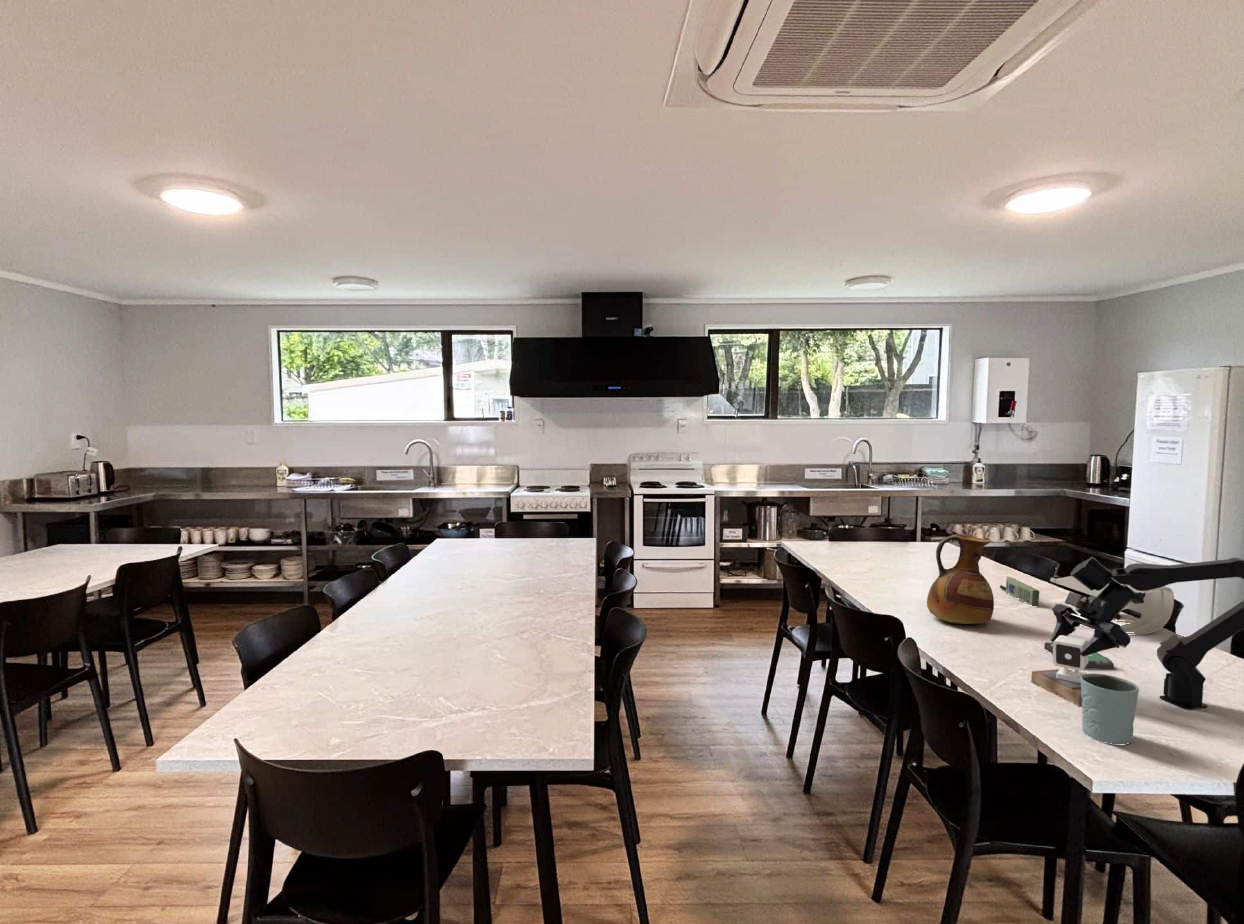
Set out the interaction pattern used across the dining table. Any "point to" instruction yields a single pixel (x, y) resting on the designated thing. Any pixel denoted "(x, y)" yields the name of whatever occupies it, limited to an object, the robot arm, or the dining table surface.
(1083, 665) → the security camera
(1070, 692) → the walnut stand
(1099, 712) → the green plant pot
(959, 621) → the ceramic pitcher
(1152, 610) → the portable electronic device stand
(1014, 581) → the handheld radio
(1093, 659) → the disk drive
